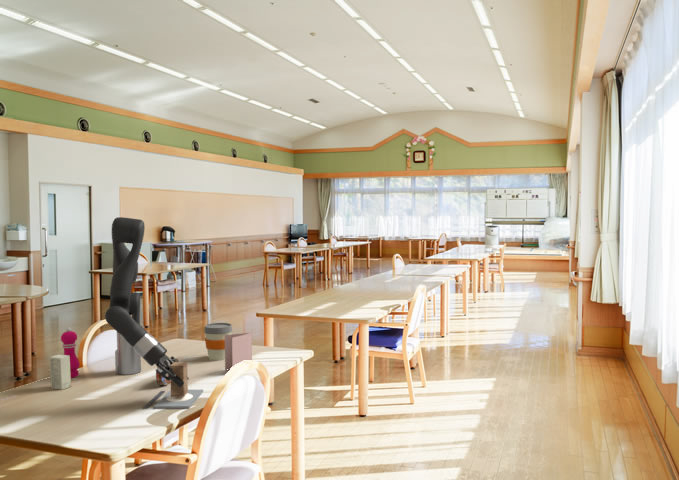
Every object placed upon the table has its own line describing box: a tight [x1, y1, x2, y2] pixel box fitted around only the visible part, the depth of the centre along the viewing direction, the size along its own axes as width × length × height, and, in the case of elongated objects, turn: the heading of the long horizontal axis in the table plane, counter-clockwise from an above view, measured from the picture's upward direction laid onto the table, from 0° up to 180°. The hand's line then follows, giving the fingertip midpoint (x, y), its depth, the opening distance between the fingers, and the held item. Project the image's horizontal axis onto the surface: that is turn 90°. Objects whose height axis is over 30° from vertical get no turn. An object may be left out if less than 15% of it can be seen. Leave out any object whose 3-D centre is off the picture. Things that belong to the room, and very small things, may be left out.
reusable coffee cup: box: [203, 322, 233, 361], centre depth 255 cm, size 13×13×15 cm
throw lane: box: [142, 389, 204, 410], centre depth 198 cm, size 16×18×1 cm
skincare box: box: [49, 353, 72, 390], centre depth 212 cm, size 6×4×12 cm
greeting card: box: [224, 332, 253, 371], centre depth 234 cm, size 11×7×15 cm, turn 110°
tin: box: [155, 358, 180, 386], centre depth 219 cm, size 15×3×8 cm, turn 168°
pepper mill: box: [60, 327, 80, 379], centre depth 227 cm, size 7×7×20 cm
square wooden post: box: [170, 361, 189, 397], centre depth 197 cm, size 5×5×11 cm
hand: (184, 382), depth 197 cm, fingers closed on square wooden post, 4 cm apart
